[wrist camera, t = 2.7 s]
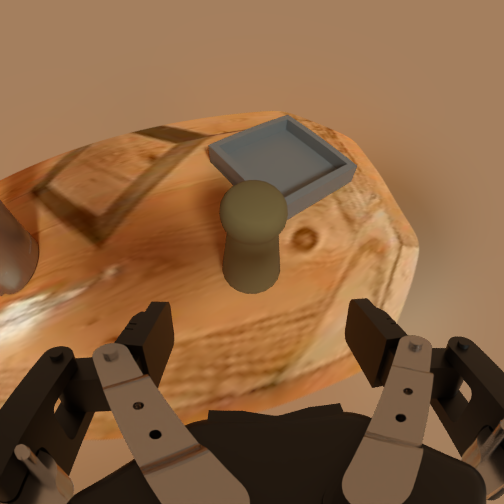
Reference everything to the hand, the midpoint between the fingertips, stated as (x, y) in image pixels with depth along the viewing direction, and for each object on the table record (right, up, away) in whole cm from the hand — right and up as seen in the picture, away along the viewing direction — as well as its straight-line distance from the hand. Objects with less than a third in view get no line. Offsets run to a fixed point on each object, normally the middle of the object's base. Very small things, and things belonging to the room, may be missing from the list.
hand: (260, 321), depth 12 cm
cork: (0, +1, +17) cm, 18 cm away
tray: (+4, +14, +25) cm, 29 cm away
